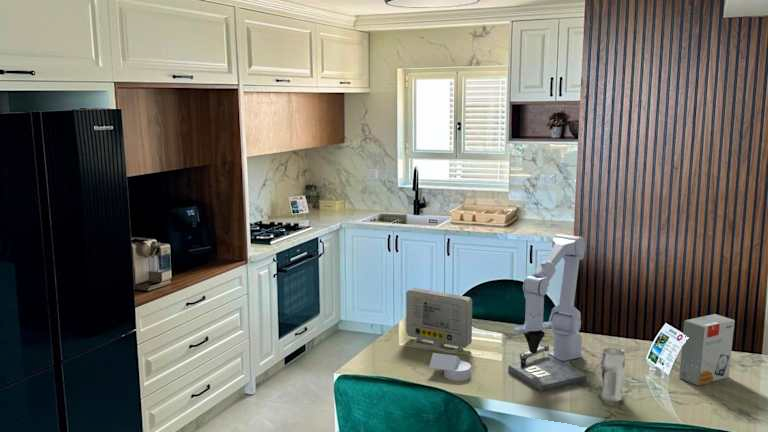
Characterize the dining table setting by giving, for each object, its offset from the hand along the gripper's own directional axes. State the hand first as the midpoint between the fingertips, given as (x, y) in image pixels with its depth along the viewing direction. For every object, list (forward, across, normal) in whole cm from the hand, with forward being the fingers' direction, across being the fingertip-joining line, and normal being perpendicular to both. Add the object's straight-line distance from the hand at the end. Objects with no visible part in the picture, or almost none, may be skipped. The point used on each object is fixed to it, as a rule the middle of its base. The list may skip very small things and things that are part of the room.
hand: (533, 352), depth 220 cm
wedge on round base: (+9, +23, -14) cm, 28 cm away
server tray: (+8, -4, +2) cm, 10 cm away
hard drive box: (+9, -50, +26) cm, 57 cm away
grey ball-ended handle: (+4, -5, -7) cm, 9 cm away
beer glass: (+9, -12, +24) cm, 28 cm away
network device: (+9, +14, -38) cm, 42 cm away
